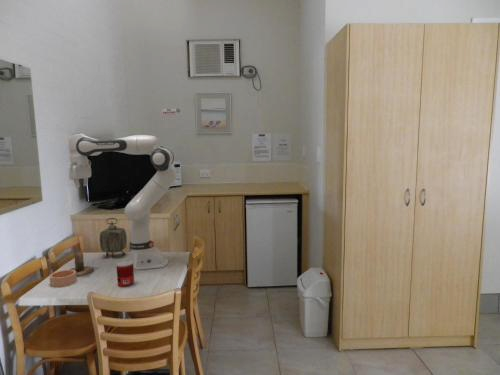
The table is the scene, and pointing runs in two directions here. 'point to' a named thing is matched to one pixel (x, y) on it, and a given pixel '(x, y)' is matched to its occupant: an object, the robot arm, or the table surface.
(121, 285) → the canned food
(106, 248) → the tabletop clock
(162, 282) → the table surface
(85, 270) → the lid
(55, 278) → the bowl
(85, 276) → the mat
